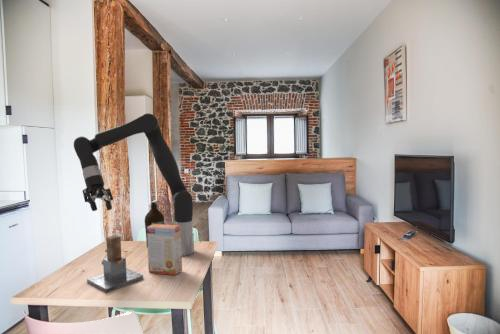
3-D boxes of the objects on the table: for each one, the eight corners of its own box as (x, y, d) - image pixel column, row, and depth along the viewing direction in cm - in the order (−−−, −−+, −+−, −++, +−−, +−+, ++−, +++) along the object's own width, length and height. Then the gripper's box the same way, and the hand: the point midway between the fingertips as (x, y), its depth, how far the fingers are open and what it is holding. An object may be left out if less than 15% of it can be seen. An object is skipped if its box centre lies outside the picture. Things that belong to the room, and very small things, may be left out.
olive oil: (142, 245, 176) (140, 202, 174) (160, 241, 183) (158, 200, 181) (150, 250, 168) (148, 204, 166) (168, 245, 175) (166, 202, 173)
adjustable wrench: (107, 264, 149) (107, 261, 149) (93, 266, 148) (92, 262, 148) (120, 248, 174) (119, 245, 174) (108, 249, 173) (107, 245, 173)
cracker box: (182, 270, 139) (181, 224, 138) (175, 276, 133) (173, 228, 132) (156, 267, 144) (154, 223, 142) (148, 272, 138) (146, 226, 137)
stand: (123, 269, 141) (122, 249, 141) (143, 278, 131) (142, 256, 131) (87, 282, 129) (85, 260, 128) (106, 293, 119) (104, 268, 118)
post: (117, 273, 133) (115, 235, 132) (122, 276, 130) (120, 236, 129) (107, 277, 129) (105, 237, 128) (113, 279, 127) (111, 239, 126)
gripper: (86, 173, 136) (96, 207, 132) (110, 175, 149) (120, 206, 146) (74, 180, 138) (83, 214, 134) (99, 181, 151) (108, 212, 148)
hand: (102, 210), depth 140 cm, fingers open, 8 cm apart
